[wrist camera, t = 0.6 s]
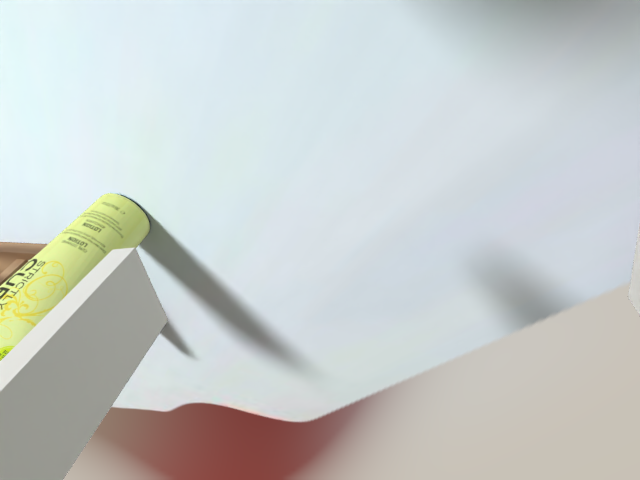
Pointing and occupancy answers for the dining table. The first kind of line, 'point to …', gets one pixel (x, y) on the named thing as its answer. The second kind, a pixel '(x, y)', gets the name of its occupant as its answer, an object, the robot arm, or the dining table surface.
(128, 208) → the tube
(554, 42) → the dining table surface
